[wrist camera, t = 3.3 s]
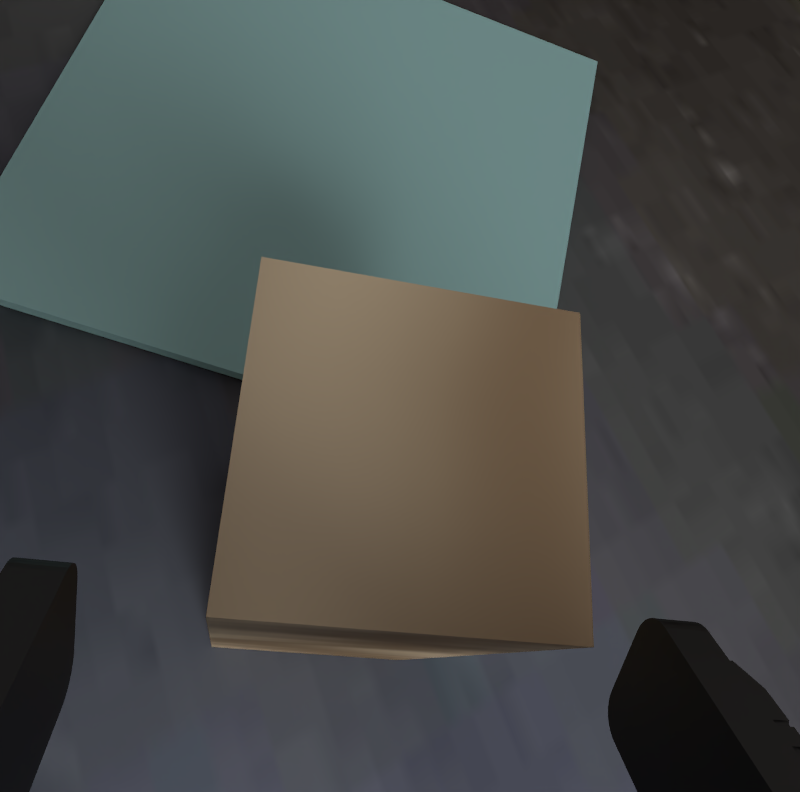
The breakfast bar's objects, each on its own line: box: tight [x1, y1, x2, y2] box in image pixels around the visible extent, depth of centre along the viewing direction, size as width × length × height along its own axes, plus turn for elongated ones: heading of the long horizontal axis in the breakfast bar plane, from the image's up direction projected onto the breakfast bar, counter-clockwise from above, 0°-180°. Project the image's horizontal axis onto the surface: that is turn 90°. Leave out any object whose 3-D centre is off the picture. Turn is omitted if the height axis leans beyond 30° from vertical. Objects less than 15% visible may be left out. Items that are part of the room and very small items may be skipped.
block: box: [206, 257, 594, 660], centre depth 13 cm, size 4×4×10 cm
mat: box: [0, 0, 597, 380], centre depth 22 cm, size 16×16×1 cm
